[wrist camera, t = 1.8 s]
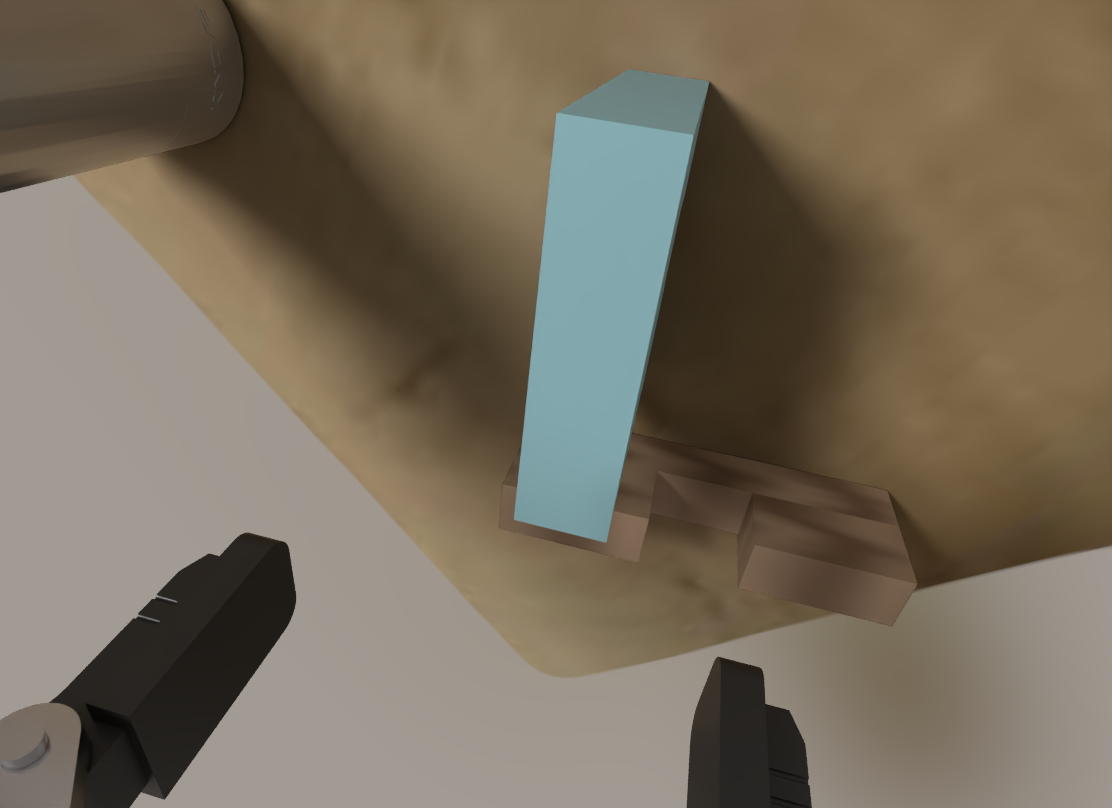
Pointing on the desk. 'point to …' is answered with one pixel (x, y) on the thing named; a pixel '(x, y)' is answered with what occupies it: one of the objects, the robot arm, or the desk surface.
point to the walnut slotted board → (758, 525)
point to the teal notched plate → (601, 290)
